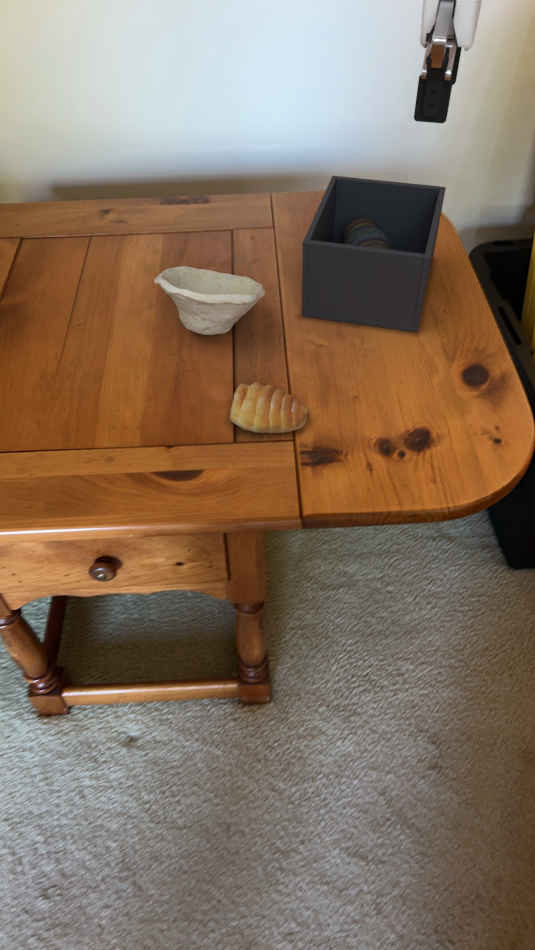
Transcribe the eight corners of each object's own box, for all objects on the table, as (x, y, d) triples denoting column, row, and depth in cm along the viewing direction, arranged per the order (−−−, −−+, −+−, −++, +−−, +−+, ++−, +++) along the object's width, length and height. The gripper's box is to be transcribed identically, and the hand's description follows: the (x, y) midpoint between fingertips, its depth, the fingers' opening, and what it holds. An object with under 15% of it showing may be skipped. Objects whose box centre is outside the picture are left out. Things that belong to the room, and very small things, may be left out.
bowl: (283, 311, 96) (282, 249, 89) (235, 369, 89) (230, 307, 81) (197, 285, 101) (188, 224, 93) (144, 338, 93) (131, 276, 86)
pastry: (312, 404, 84) (312, 382, 81) (301, 443, 80) (301, 421, 77) (240, 394, 85) (239, 372, 82) (226, 431, 81) (224, 409, 78)
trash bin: (432, 259, 103) (445, 186, 94) (417, 332, 92) (430, 257, 83) (329, 247, 107) (332, 175, 98) (301, 316, 95) (302, 242, 86)
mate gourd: (360, 238, 92) (344, 199, 98) (339, 283, 97) (325, 243, 103) (405, 248, 94) (387, 208, 100) (382, 290, 100) (366, 251, 106)
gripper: (509, -92, 50) (464, 141, 63) (518, -135, 60) (478, 72, 73) (409, -94, 51) (386, 134, 64) (435, -135, 62) (410, 68, 75)
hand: (435, 101), depth 69 cm, fingers open, 9 cm apart
